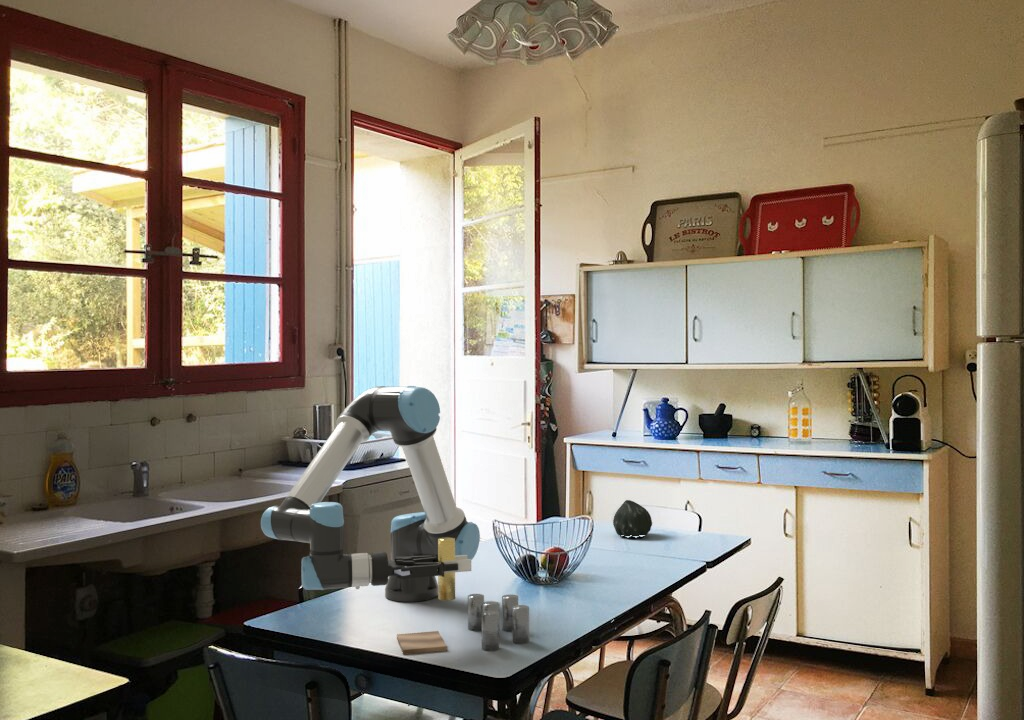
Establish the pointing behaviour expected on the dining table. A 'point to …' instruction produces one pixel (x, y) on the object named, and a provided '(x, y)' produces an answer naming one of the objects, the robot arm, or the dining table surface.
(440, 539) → the cylinder
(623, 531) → the squash
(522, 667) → the dining table surface
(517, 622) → the spacers
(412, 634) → the board
